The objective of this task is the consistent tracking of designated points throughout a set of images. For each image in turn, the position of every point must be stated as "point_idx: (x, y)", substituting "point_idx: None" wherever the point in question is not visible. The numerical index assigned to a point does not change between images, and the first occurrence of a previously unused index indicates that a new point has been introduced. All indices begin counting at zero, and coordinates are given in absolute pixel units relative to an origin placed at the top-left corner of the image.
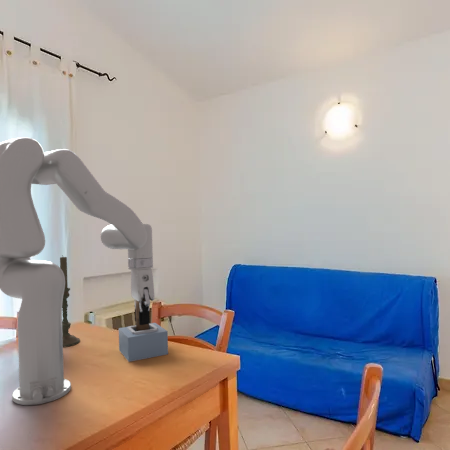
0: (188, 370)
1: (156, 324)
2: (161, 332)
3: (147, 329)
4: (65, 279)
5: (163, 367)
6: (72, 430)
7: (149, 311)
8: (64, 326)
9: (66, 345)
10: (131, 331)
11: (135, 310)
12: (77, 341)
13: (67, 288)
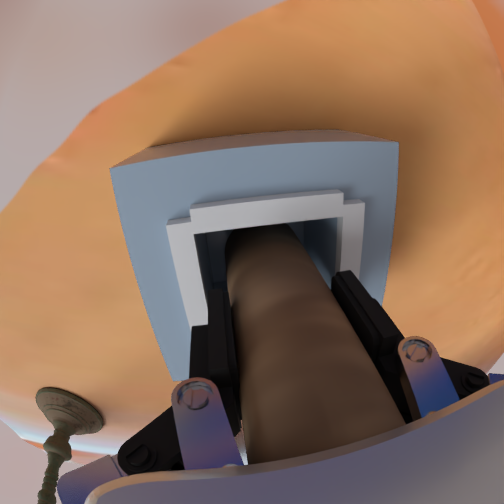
0: (486, 137)
1: (171, 166)
2: (395, 183)
3: (311, 259)
4: None
5: (441, 192)
6: (496, 349)
7: (393, 329)
8: (70, 454)
9: (99, 416)
10: None
11: (239, 416)
12: (72, 399)
13: None
